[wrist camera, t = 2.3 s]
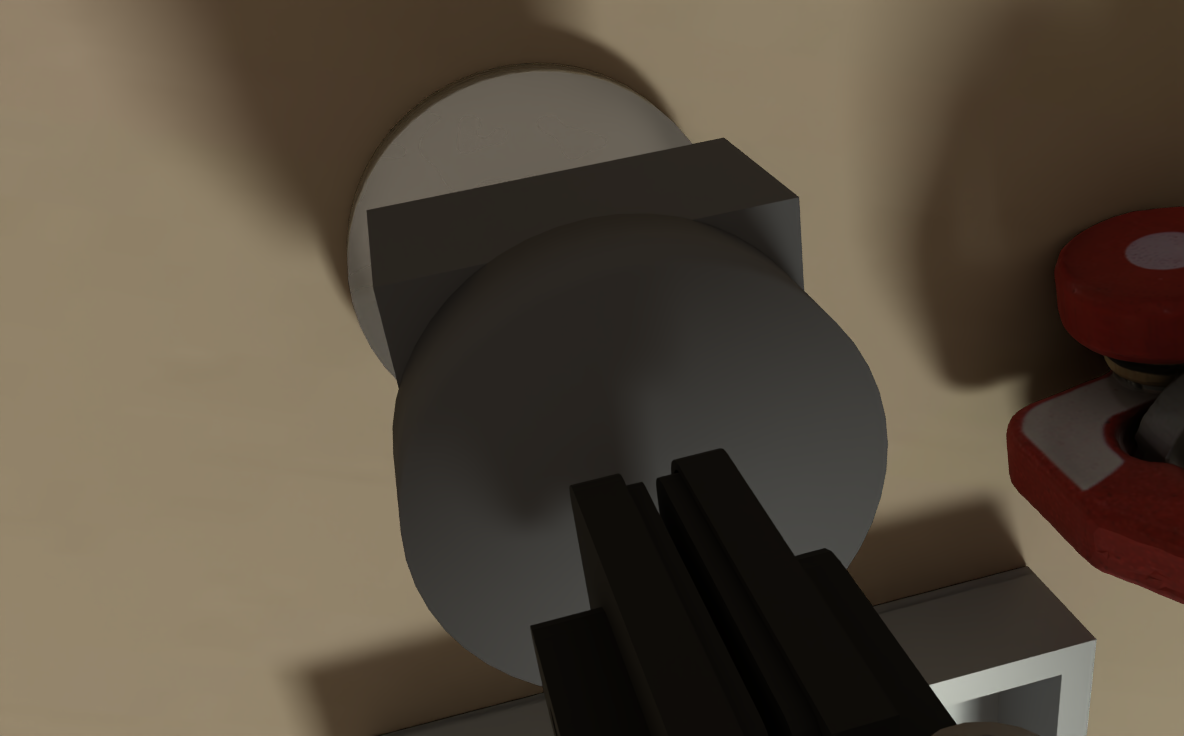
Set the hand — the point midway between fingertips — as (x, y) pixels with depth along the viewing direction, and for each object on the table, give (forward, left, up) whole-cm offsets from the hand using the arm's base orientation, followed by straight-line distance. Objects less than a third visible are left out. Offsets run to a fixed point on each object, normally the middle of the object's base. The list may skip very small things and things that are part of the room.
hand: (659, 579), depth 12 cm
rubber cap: (0, 0, -6) cm, 6 cm away
